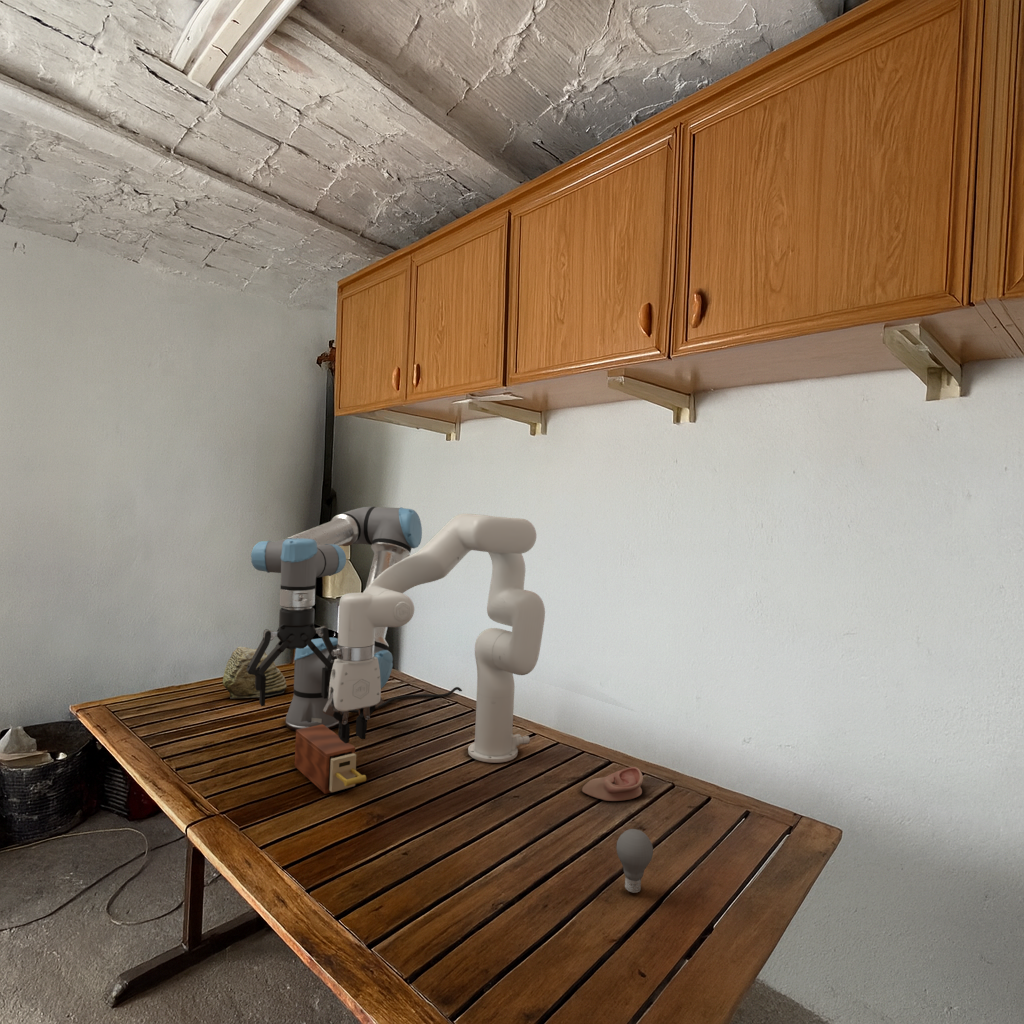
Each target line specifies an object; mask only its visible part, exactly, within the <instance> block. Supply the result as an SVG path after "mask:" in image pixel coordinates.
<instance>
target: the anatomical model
mask: <svg viewBox="0 0 1024 1024" xmlns="http://www.w3.org/2000/svg"><path fill="white" fill-rule="evenodd" d="M643 782H644V775H643V773H642V771H641V770H640V769H639V768H638V767H637V766H630V767H625V768H623V769H620V770H617V771H615V772H613V773H610V774H608V775H605V776H604V777H596V778H595V777H594V778H592V779H590V780H588V781H587V782H586V783H585V784H584V785H583V786H582V788H581V792H582V793H583V794H585V795H587V796H590V797H593V798H595V799H598V800H602V801H606V802H619V801H621V802H622V801H628V800H633V799H635V798H638V797H640V796H641V795H642V793H643V789H642V787H641V786H642V784H643Z"/></svg>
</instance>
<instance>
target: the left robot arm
mask: <svg viewBox="0 0 1024 1024" xmlns="http://www.w3.org/2000/svg"><path fill="white" fill-rule="evenodd" d="M421 522H422V521H421V518H420V516H419V514H418V512H417V511H416V510H414V509H413V508H405V507H390V506H389V507H388V506H386V507H385V506H373V505H372V506H371V505H370V506H363V507H362V506H361V507H358V508H354V509H351V510H348V511H345V512H342V513H340V514H336V515H335V516H333V517H332V518H331V519H330V521H328V522H324V523H322V524H320V525H317V526H313V527H312V528H309V529H307V530H304V531H301V532H299V533H295V534H293V535H290V536H288V537H285V538H282V539H279V540H275V541H272V540H261V541H258V542H257V543H256V544H255V545H254V546H253V548H252V550H251V552H250V559H251V565H252V567H253V568H254V569H255V570H257V571H260V572H264V573H265V572H266V573H274V574H275V573H276V574H280V589H279V606H280V607H281V608H280V609H279V612H278V613H279V615H278V618H279V619H278V628H277V630H269V629H268V628H265V629H264V630H263V634H262V639H261V641H260V643H259V644H258V647H257V648H256V649H257V650H256V652H255V654H254V656H253V657H252V659H251V661H250V663H249V665H248V667H247V669H246V670H247V672H248V674H252V675H255V688H256V690H257V691H258V690H260V697H258V701H259V702H258V703H259V705H260V707H265V706H266V696H265V689H266V676H265V674H264V672H265V671H266V670H267V669H268V668H269V666H270V665H271V664H272V663H273V662H274V663H275V661H276V660H277V658H279V656H280V655H282V653H283V652H284V651H286V649H287V650H295V652H294V653H295V654H294V659H293V660H294V672H293V695H292V696H293V697H292V699H291V702H290V704H289V708H288V711H287V713H286V715H285V726H286V728H287V729H289V730H291V731H294V732H296V730H298V729H303V728H308V727H313V726H317V725H322V724H323V725H324V726H326V727H327V728H329V729H330V730H332V729H335V728H337V727H339V721H337V720H336V719H335V718H334V717H332V716H329V715H327V714H325V713H324V712H323V709H324V707H325V705H326V703H327V701H328V699H329V685H330V677H331V672H332V667H333V663H334V660H335V659H337V657H336V656H332V654H331V652H332V650H335V649H337V645H338V637H330V636H329V628H328V627H327V626H326V625H321V626H320V627H315V608H314V606H315V604H316V580H317V578H323V577H331V576H334V575H336V574H339V573H341V572H342V571H343V570H344V568H345V567H346V563H347V555H346V552H345V551H344V549H343V548H342V547H348V546H352V545H369V546H370V549H371V550H372V552H373V557H372V562H371V566H370V570H369V574H368V578H367V582H366V584H365V589H366V588H367V587H368V586H369V585H370V583H372V582H373V581H374V580H375V579H376V578H377V577H378V576H379V575H380V574H381V573H382V572H383V571H385V570H386V569H387V568H389V567H390V566H392V565H394V564H396V563H397V562H399V561H401V560H403V559H405V558H406V557H408V556H410V555H411V552H412V549H417V548H419V546H420V545H421V542H422V537H423V527H422V526H423V525H422V523H421ZM388 628H389V627H375V642H374V657H377V658H378V663H379V669H380V681H381V690H382V689H383V688H384V687H385V685H386V684H387V683H388V681H389V679H390V676H391V675H392V670H393V666H394V663H393V661H394V657H393V654H392V652H390V651H389V648H390V646H389V643H388V642H387V640H386V636H387V631H388ZM316 634H317V635H318V638H314V637H315V636H316ZM275 637H276V638H278V640H279V641H278V642H277V643H276V644H275V646H274V648H273V649H272V650H271V651H270V653H269V654H267V655H268V656H267V657H266V658H265V659H264V661H263V662H262V663H261V664H260V665H259V666H258V667H257V665H258V664H259V662H260V660H261V658H262V656H263V654H264V653H266V650H267V649H268V647H269V645H270V643H271V642H272V641H273V640H274V639H275ZM256 667H257V668H256ZM456 691H458V692H463V689H462V688H460V687H459V686H455V687H453V688H452V689H450V690H449V691H448V692H446V693H438V694H436V693H434V694H433V693H431V694H430V693H417V694H416V693H415V694H405V695H398V696H395V697H391V698H389V699H387V700H385V701H383V703H382V704H381V705H379V706H378V707H377V708H375V710H377V709H380V708H382V707H385V706H386V705H388V704H390V703H391V702H394V701H397V700H403V699H413V698H445V697H449V696H451V695H452V694H453V693H455V692H456ZM333 710H336V711H338V710H337V709H336V708H335V706H334V707H333ZM349 713H351V714H353V713H354V714H359V709H355V710H350V711H349Z"/></svg>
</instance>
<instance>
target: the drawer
mask: <svg viewBox="0 0 1024 1024" xmlns="http://www.w3.org/2000/svg"><path fill="white" fill-rule="evenodd" d="M366 781H367V775H366V774H361V773H360V772H359V771H357V754H356V752H355V753H352V754H348V752H347V753H343V754H339V755H335V756H331V757H330V762H329V786H330V789H329V790H330V791H331V792H330V793H335V792H338V791H342V790H345V789H349V788H352V787H355V786H356V785H357V784H360V783H364V782H366Z"/></svg>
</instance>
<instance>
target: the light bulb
mask: <svg viewBox="0 0 1024 1024" xmlns="http://www.w3.org/2000/svg"><path fill="white" fill-rule="evenodd" d="M615 849H616V854H617V857H618V859H619V861H620V863H621V865H622V867H623V873H624V874H623V875H624V876H625V878H624V888H625V890H627V891H628V892H630V893H634V894H635V893H639V892H640V891H641V889H642V887H641V886H642V879H643V877H644V875H645V871H646V868H647V867H648V866H649V864H650V863H651V861H652V859H653V855H654V847H653V843H652V841H651V838H649V836H648V835H647V834H646V833H645V832H643V831H642V830H641V829H636V828H629V829H627V830H625V831H623V832H622V833H621V834H620V835H619V837H618V839H617V841H616V847H615Z"/></svg>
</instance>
